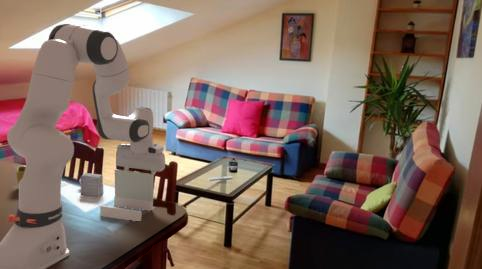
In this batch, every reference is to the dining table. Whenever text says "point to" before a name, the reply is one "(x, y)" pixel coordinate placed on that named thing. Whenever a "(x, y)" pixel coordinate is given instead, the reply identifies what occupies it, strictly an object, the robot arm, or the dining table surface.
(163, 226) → the dining table surface
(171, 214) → the dining table surface
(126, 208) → the blue-grey rectangular bar
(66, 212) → the dining table surface
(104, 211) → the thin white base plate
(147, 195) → the lid
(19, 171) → the flower pot
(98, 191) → the medicine box
